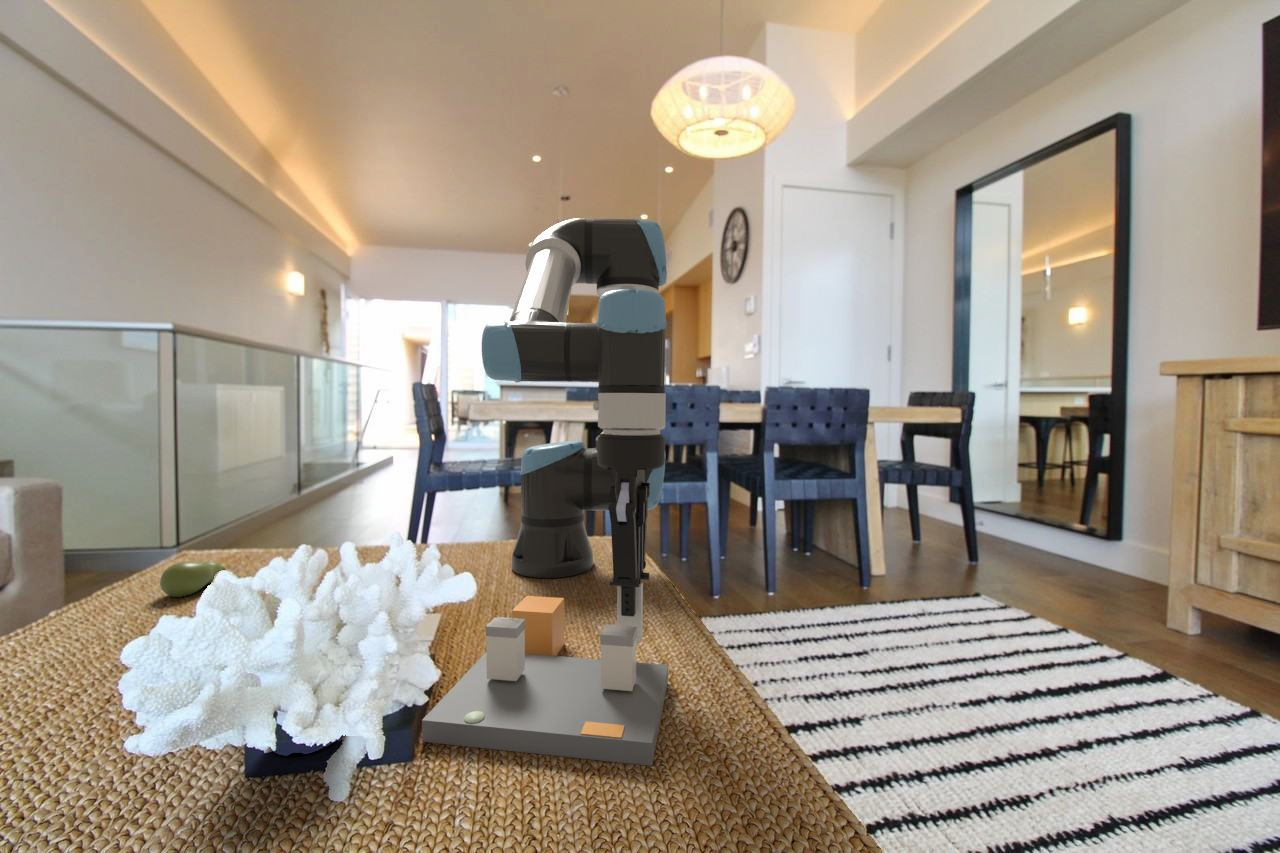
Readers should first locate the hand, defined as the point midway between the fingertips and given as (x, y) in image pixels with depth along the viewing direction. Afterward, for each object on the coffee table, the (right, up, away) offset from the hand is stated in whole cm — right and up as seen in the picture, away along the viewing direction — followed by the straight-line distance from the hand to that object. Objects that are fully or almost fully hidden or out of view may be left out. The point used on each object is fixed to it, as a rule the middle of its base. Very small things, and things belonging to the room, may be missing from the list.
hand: (629, 639), depth 62 cm
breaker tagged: (-1, -2, -7) cm, 7 cm away
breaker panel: (-7, -4, -7) cm, 11 cm away
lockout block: (-11, -4, +6) cm, 13 cm away
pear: (-71, -3, +27) cm, 76 cm away
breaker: (-13, -2, -5) cm, 14 cm away
